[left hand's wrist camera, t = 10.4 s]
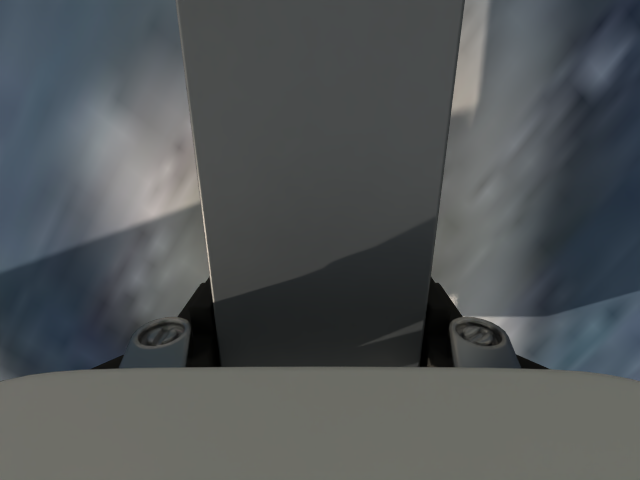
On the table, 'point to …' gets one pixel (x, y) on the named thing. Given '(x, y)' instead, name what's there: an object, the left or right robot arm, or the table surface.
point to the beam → (320, 172)
